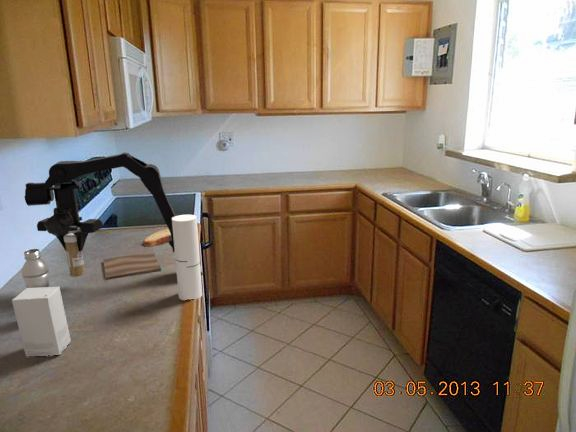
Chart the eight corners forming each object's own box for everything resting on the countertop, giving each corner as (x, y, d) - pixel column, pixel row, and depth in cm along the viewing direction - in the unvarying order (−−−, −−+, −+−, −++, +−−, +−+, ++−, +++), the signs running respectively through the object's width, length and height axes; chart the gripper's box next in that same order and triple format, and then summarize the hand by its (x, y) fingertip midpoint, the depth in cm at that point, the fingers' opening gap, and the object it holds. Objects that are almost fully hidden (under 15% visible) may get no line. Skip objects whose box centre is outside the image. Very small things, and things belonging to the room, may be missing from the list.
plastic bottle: (29, 326, 114) (15, 257, 108) (32, 315, 120) (19, 249, 114) (56, 321, 116) (44, 253, 111) (58, 310, 122) (46, 245, 117)
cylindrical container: (182, 290, 135) (175, 214, 128) (204, 290, 134) (199, 214, 127) (175, 300, 128) (168, 221, 121) (199, 300, 127) (193, 221, 121)
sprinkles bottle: (82, 277, 134) (75, 236, 130) (67, 277, 134) (60, 237, 130) (87, 271, 139) (81, 232, 135) (73, 271, 138) (67, 232, 135)
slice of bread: (141, 248, 173) (140, 239, 172) (147, 234, 190) (146, 226, 189) (186, 245, 176) (186, 236, 175) (188, 232, 193) (187, 224, 192)
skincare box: (71, 342, 107) (62, 285, 102) (59, 357, 100) (48, 298, 96) (38, 343, 106) (26, 286, 102) (23, 358, 100) (10, 299, 96)
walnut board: (161, 270, 150) (160, 267, 150) (106, 280, 143) (105, 277, 142) (153, 254, 166) (153, 251, 165) (103, 262, 158) (103, 259, 158)
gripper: (19, 209, 123) (28, 259, 128) (78, 210, 121) (86, 261, 125) (45, 200, 134) (53, 246, 138) (100, 201, 131) (106, 248, 136)
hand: (74, 250), depth 134 cm, fingers closed on sprinkles bottle, 4 cm apart
